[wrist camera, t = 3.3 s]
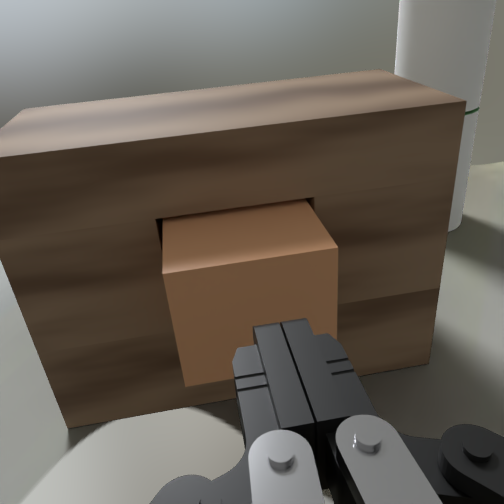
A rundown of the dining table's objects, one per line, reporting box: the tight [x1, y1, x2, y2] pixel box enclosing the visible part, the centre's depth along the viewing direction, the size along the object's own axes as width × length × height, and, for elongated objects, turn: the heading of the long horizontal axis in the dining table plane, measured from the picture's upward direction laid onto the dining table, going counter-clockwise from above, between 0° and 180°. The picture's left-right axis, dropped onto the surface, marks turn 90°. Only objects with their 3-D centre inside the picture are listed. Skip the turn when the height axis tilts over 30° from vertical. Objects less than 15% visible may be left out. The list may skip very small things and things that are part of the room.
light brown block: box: [162, 198, 338, 387], centre depth 23 cm, size 8×7×6 cm
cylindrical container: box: [395, 0, 496, 232], centre depth 40 cm, size 7×7×25 cm
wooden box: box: [0, 69, 467, 428], centre depth 29 cm, size 10×22×16 cm, turn 99°
